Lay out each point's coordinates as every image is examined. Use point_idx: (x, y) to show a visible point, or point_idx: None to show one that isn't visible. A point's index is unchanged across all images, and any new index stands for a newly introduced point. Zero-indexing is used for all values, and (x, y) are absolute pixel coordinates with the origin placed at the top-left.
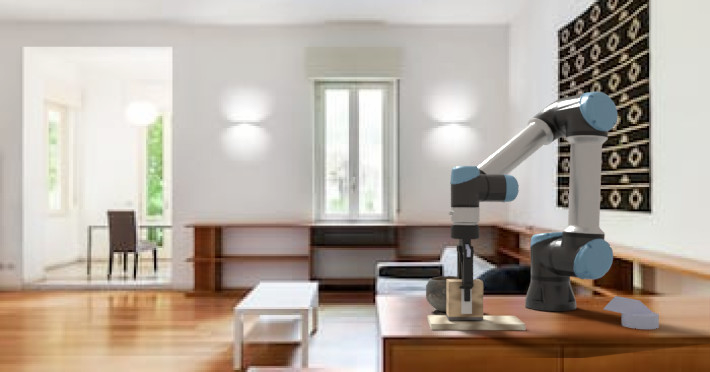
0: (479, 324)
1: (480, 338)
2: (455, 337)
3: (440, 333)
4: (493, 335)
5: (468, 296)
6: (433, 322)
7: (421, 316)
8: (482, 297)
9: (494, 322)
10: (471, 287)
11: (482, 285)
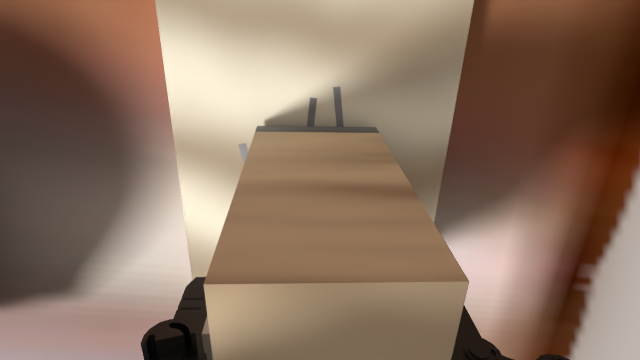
0: (443, 157)
1: (617, 174)
2: (566, 266)
3: (480, 309)
4: (574, 101)
5: None
6: None
7: (100, 351)
8: (411, 194)
9: (410, 61)
10: (495, 352)
11: (448, 259)
